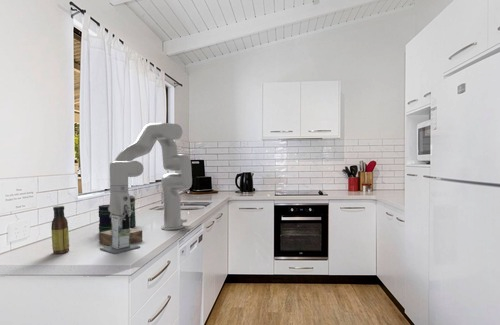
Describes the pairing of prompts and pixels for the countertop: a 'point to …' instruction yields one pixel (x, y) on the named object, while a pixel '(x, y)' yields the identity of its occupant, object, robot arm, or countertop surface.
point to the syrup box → (119, 233)
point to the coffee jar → (132, 218)
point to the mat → (115, 251)
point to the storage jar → (104, 218)
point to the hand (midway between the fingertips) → (119, 227)
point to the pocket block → (107, 236)
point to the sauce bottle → (59, 231)
